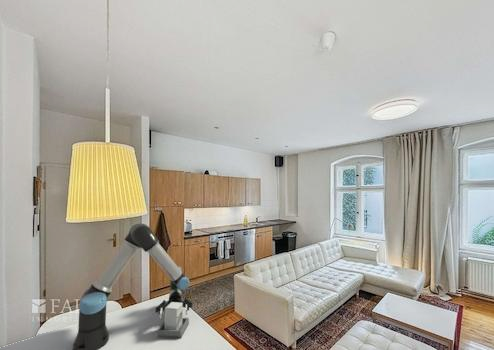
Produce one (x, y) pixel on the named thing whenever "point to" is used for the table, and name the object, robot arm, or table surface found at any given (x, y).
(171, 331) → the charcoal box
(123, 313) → the table surface
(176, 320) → the supplement box
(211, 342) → the table surface
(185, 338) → the table surface
